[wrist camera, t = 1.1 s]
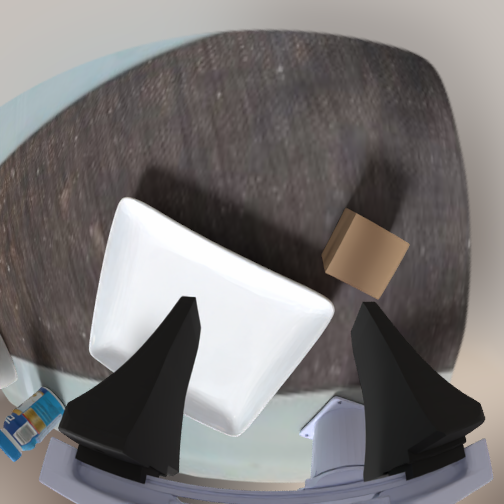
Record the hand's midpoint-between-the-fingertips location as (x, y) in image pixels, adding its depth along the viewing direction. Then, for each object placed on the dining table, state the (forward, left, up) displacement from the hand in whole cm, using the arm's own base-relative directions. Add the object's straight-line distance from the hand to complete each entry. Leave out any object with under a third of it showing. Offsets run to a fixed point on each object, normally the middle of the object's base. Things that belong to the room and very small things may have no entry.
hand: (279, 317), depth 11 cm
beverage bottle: (+28, +52, -12) cm, 61 cm away
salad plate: (+5, +12, -13) cm, 18 cm away
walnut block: (-5, -3, -12) cm, 13 cm away
